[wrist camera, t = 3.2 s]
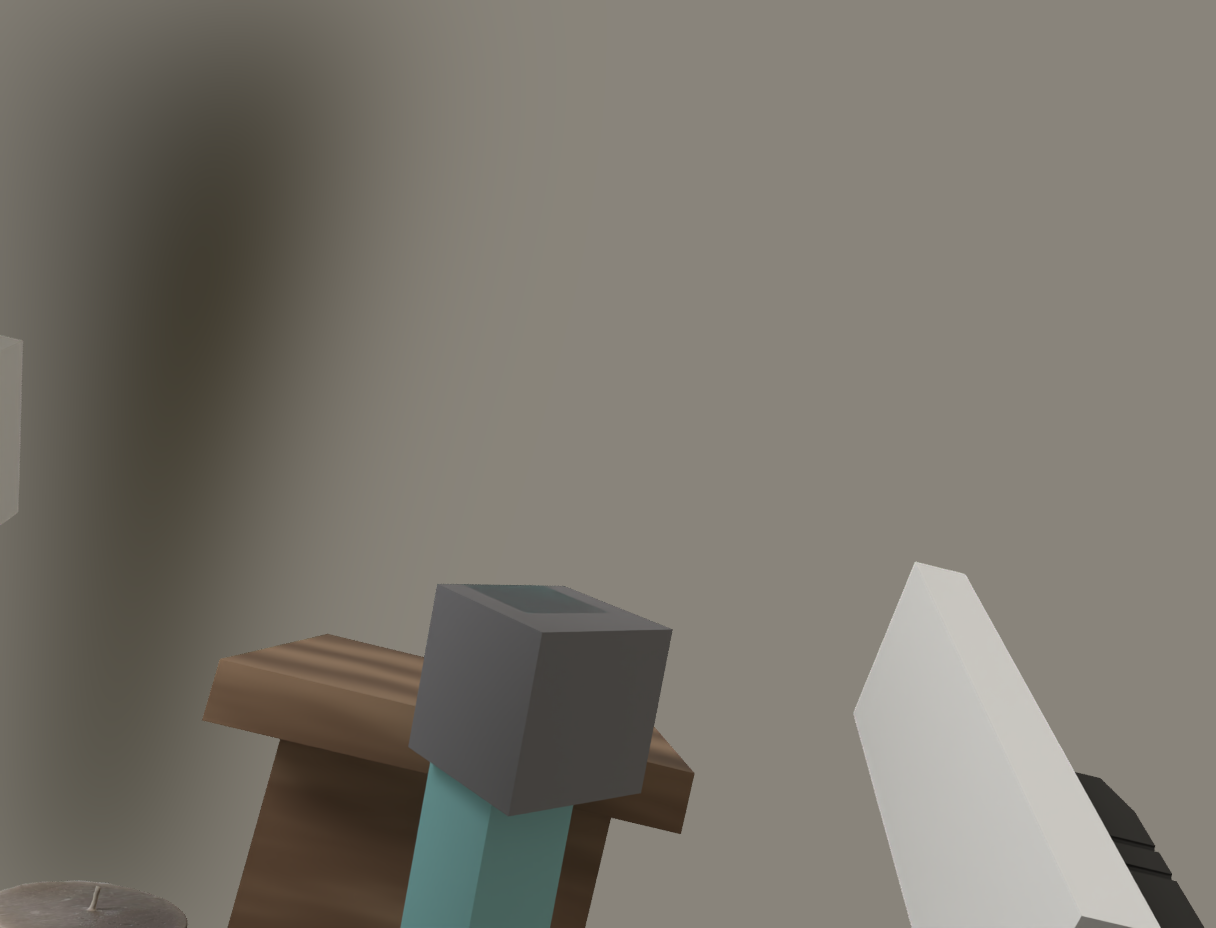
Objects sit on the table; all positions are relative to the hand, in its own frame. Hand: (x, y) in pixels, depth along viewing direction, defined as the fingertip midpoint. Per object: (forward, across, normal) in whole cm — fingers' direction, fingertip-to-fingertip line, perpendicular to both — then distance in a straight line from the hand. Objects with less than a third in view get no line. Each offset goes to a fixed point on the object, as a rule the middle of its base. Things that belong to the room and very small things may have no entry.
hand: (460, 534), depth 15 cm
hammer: (+11, +1, -20) cm, 23 cm away
